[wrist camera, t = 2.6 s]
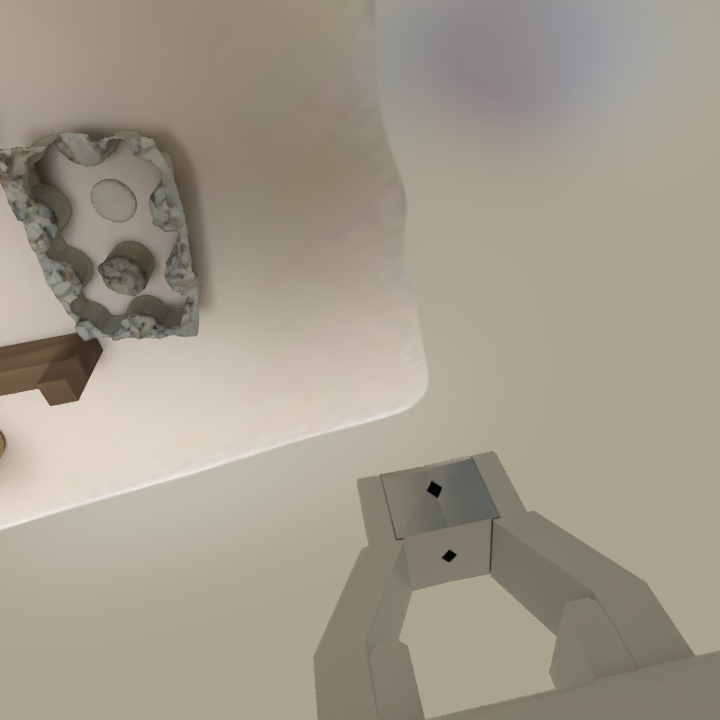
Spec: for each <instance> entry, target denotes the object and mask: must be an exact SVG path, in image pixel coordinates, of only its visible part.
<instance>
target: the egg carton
mask: <svg viewBox="0 0 720 720" xmlns="http://www.w3.org/2000/svg"><path fill="white" fill-rule="evenodd" d="M119 139H124V140H126V143H125V144H126V145H127V146H128V147H129V148H130V149H131V150H132V152H133V154H134V155H135V156H137V157H138V158H140V159H142V160H144V161H147V162H149V163H151V164H152V165H154V166H155V167H156V168H157V169H158V170H159V171H160V173H161V174H162V180H161V181H160V183H159V185H158V186H157V187H156V189H155V190H154V192H153V193H152V195H151V196H150V201H149V207H150V210H151V213H152V216H153V222H152V224H154V225H155V226H158V227H159V228H161V229H162V230H164V231H165V232H170V231H178V232H179V237H178V239H177V243H176V244H175V245H174V247H173V250H172V253H171V255H170V257H169V258H168V260H167V261H166V270H165V278H166V281H167V283H168V284H169V285H170V286H171V288H172V290H174V291H179V292H180V293H181V295H186V296H188V299H187V301H186V304H185V306H184V308H183V309H171V308H170V307H167V306H166V305H165V304H164V303H163V302H162V301H160V300H159V299H157V298H155V297H153V296H149V295H141V296H138V297H136V298H135V299H133V300H132V301H131V303H130V305H129V307H128V309H127V311H126V313H125V315H119V316H112V315H111V314H110V313H109V311H108V310H107V309H106V308H105V307H104V306H102V305H101V304H99V303H97V302H94V301H88V300H86V299H85V298H84V296H83V294H82V290H83V289H84V287H85V286H86V284H87V283H88V281H89V280H90V278H91V276H92V275H93V265H92V263H91V261H90V259H89V258H88V257H87V255H85V254H84V253H83V252H82V251H80V250H78V249H75V248H72V247H68V246H67V245H66V243H65V241H64V239H63V238H62V236H61V235H60V233H59V231H60V230H61V229H62V228H63V227H64V226H65V225H66V224H67V223H68V221H69V220H70V217H71V213H72V209H71V205H70V203H69V201H68V199H67V198H66V197H65V195H64V194H63V193H62V192H60V191H59V190H58V189H56V188H54V187H52V186H50V185H47V184H42V183H41V182H40V180H39V178H38V176H37V174H36V171H35V167H34V163H35V162H37V161H38V160H40V159H41V158H42V157H43V156H44V155H45V153H46V150H47V147H48V146H49V145H50V144H51V143H52V142H53V143H55V144H56V145H57V147H58V149H59V151H60V152H61V153H62V154H63V155H64V156H65V157H66V158H67V159H69V160H71V161H72V162H75V163H77V164H81V165H84V166H94V165H98V164H99V163H101V162H103V161H104V160H105V159H106V158H107V157H108V156H109V155H110V154H111V153H112V152H113V151H114V150H115V149H116V147H117V145H118V140H119ZM173 175H174V166H173V162H172V159H171V156H170V154H169V153H166V152H160V151H159V150H158V148H157V146H156V144H155V141H154V139H152V138H149V137H142V135H141V134H140V133H139V132H138V131H124V130H123V131H120V132H118V133H116V134H115V135H114V136H112V137H105V138H101V139H99V140H98V141H92V140H91V138H90V136H89V135H88V134H84V133H59V134H58V135H47V136H46V137H44V138H43V139H41V140H39V141H37V142H36V143H34V144H33V145H32V146H31V147H15V148H10V149H0V183H1V185H2V188H3V189H4V190H5V192H6V195H7V199H8V203H9V205H10V206H11V208H12V210H13V212H14V214H15V215H16V218H17V220H20V221H23V224H24V226H25V229H26V232H27V235H28V239H29V243H30V246H31V249H33V250H34V251H35V252H36V255H37V257H38V260H39V263H40V265H41V267H42V269H43V272H44V275H45V279H46V282H47V284H48V285H49V287H50V288H51V290H52V291H53V293H54V294H55V296H56V297H57V299H58V300H59V301H60V302H61V304H62V305H63V306H64V308H65V310H66V312H67V313H68V314H69V315H70V316H71V317H72V318H73V319H74V320H75V322H76V326H75V329H76V331H77V333H78V335H79V336H80V337H81V338H82V339H83V340H84V341H88V340H92V339H94V338H97V337H111V338H112V340H116V341H117V340H120V339H124V338H137V339H142V338H158V339H161V338H163V337H167V336H170V335H176V336H182V337H188V336H197V334H198V325H199V309H198V300H199V297H200V294H201V284H200V280H199V277H198V276H197V275H195V274H194V273H193V272H192V266H191V253H190V248H189V243H188V237H189V232H188V228H187V223H186V220H185V214H184V210H183V206H182V203H181V200H180V196H179V193H178V189H177V186H176V183H175V180H174V176H173ZM91 201H92V203H93V205H94V208H95V209H96V211H97V212H98V213H99V214H100V215H101V216H102V217H104V218H106V219H107V220H110V221H113V222H124V221H127V220H129V219H130V218H132V217H133V215H134V213H135V212H136V206H137V203H136V198H135V196H134V194H133V192H132V191H131V190H130V189H129V188H128V187H127V186H126V185H124V184H123V183H121V182H120V181H117V180H114V179H106V180H102V181H100V182H99V183H97V184H96V185H95V186H94V187H93V190H92V192H91ZM153 269H154V259H153V256H152V254H151V253H150V252H149V251H148V250H147V249H146V248H145V247H143V246H142V245H140V244H139V243H136V242H130V241H127V242H122V243H120V244H117V245H116V246H115V247H114V249H113V250H112V252H111V253H110V254H109V256H108V257H107V258H106V260H105V261H104V262H103V263H102V264H100V265H99V267H98V271H99V273H100V274H101V275H102V278H103V281H104V282H105V284H106V286H107V287H108V288H110V289H112V290H114V291H115V292H117V293H119V294H125V295H131V296H136V295H137V294H138V293H139V292H141V291H142V290H143V289H145V287H146V285H147V283H148V280H149V278H150V276H151V273H152V271H153Z"/></svg>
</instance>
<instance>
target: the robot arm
mask: <svg viewBox="0 0 720 720" xmlns="http://www.w3.org/2000/svg"><path fill="white" fill-rule="evenodd" d="M357 487H358V493H359V498H360V503H361V509H362V514H363V519H364V524H365V530H366V534H367V540H368V545H369V546H367V547H363V548H362V549H361V551H360V553H359V555H358V558H357V560H356V562H355V565H354V567H353V569H352V571H351V573H350V576H349V578H348V580H347V582H346V585H345V587H344V589H343V591H342V594H341V596H340V598H339V600H338V602H337V605H336V607H335V609H334V611H333V614H332V616H331V618H330V620H329V623H328V625H327V627H326V629H325V632H324V634H323V636H322V638H321V641H320V643H319V645H318V648H317V650H316V652H315V654H314V671H315V686H316V701H317V717H318V720H720V650H719V651H715V652H711V653H707V654H702V655H698V656H695V654H694V653H693V651H692V650H691V648H690V647H689V645H688V644H687V643H686V641H685V640H684V638H683V637H682V635H681V634H680V632H679V631H678V629H677V628H676V626H675V625H674V623H673V622H672V620H671V619H670V617H669V616H668V614H667V613H666V611H665V610H664V608H663V607H662V605H661V604H660V602H659V601H658V599H657V598H656V596H655V595H654V593H653V592H652V590H651V589H650V587H649V586H648V584H647V583H646V582H645V581H643V580H642V579H640V578H639V577H637V576H635V575H634V574H632V573H631V572H629V571H628V570H626V569H624V568H623V567H621V566H620V565H618V564H617V563H615V562H613V561H612V560H610V559H609V558H607V557H606V556H604V555H602V554H601V553H599V552H598V551H596V550H595V549H593V548H592V547H590V546H588V545H587V544H585V543H584V542H582V541H581V540H579V539H577V538H576V537H574V536H573V535H571V534H570V533H568V532H566V531H565V530H563V529H562V528H560V527H559V526H557V525H556V524H554V523H552V522H551V521H549V520H548V519H546V518H545V517H543V516H542V515H540V514H538V513H537V512H535V511H530V512H527V511H526V509H525V507H524V505H523V503H522V501H521V500H520V498H519V496H518V494H517V492H516V490H515V488H514V486H513V484H512V483H511V481H510V479H509V477H508V475H507V473H506V471H505V469H504V468H503V466H502V464H501V462H500V460H499V458H498V456H497V454H495V453H494V452H493V451H491V452H486V453H481V454H476V455H472V456H466V457H461V458H456V459H452V460H447V461H443V462H438V463H434V464H429V465H425V466H423V467H418V468H413V469H407V470H401V471H396V472H390V473H385V474H380V475H375V476H370V477H365V478H359V479H357ZM486 574H491V577H492V578H494V579H495V580H496V581H497V582H498V583H499V584H500V585H501V586H502V587H503V588H504V589H505V590H507V591H508V592H509V593H510V594H511V595H512V596H513V597H514V598H515V599H516V600H517V601H519V602H520V603H521V604H522V605H523V606H524V607H525V608H526V609H527V610H528V611H529V612H531V613H532V614H533V615H534V616H535V617H536V618H537V619H538V620H540V622H542V623H543V624H544V625H545V626H546V627H547V628H548V629H549V630H550V631H551V632H552V633H554V634H555V635H556V636H557V640H556V644H555V649H554V653H553V658H552V662H551V666H550V671H549V674H550V676H551V679H552V681H553V683H554V686H555V688H556V689H553V690H548V691H544V692H540V693H536V694H531V695H528V696H523V697H518V698H514V699H510V700H506V701H501V702H497V703H493V704H489V705H485V706H480V707H476V708H472V709H467V710H463V711H459V712H454V713H450V714H446V715H442V716H438V717H433V718H429V719H425V717H424V713H423V709H422V704H421V700H420V696H419V692H418V687H417V683H416V679H415V674H414V670H413V666H412V662H411V657H410V653H409V649H408V646H407V645H405V644H404V643H402V642H400V641H399V636H400V633H401V629H402V626H403V622H404V619H405V615H406V612H407V608H408V605H409V601H410V598H411V594H412V593H411V591H414V590H418V589H422V588H426V587H430V586H434V585H438V584H442V583H446V582H450V581H455V580H460V579H466V578H471V577H476V576H481V575H486Z"/></svg>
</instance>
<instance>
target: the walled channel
mask: <svg viewBox="0 0 720 720" xmlns="http://www.w3.org/2000/svg"><path fill="white" fill-rule="evenodd" d="M102 351H103V349H102V348H101V346H100V344H99V342H98V340H97V338H94V339H92V340H88V341H84V340H83V339H82V338H81V337H80V336H79V335H78V333H76V334H70V335H65V336H59V337H54V338H49V339H43V340H38V341H32V342H27V343H22V344H16V345H11V346H6V347H0V396H2V395H7V394H13V393H18V392H23V391H28V390H33V389H39V390H40V391H41V393H42V394H43V396H44V397H45V399H46V400H47V402H48V403H49V405H50V406H54V405H59V404H64V403H69V402H74V401H78V400H79V398H80V396H81V394H82V392H83V390H84V388H85V386H86V384H87V382H88V380H89V378H90V376H91V374H92V372H93V370H94V368H95V366H96V364H97V362H98V360H99V357H100V355H101V353H102Z"/></svg>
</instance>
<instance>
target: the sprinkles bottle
mask: <svg viewBox="0 0 720 720" xmlns="http://www.w3.org/2000/svg"><path fill="white" fill-rule="evenodd" d="M4 450H5V446H4V441H3V439H2V436H1V435H0V457H1V456H2V454H3V452H4Z"/></svg>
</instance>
